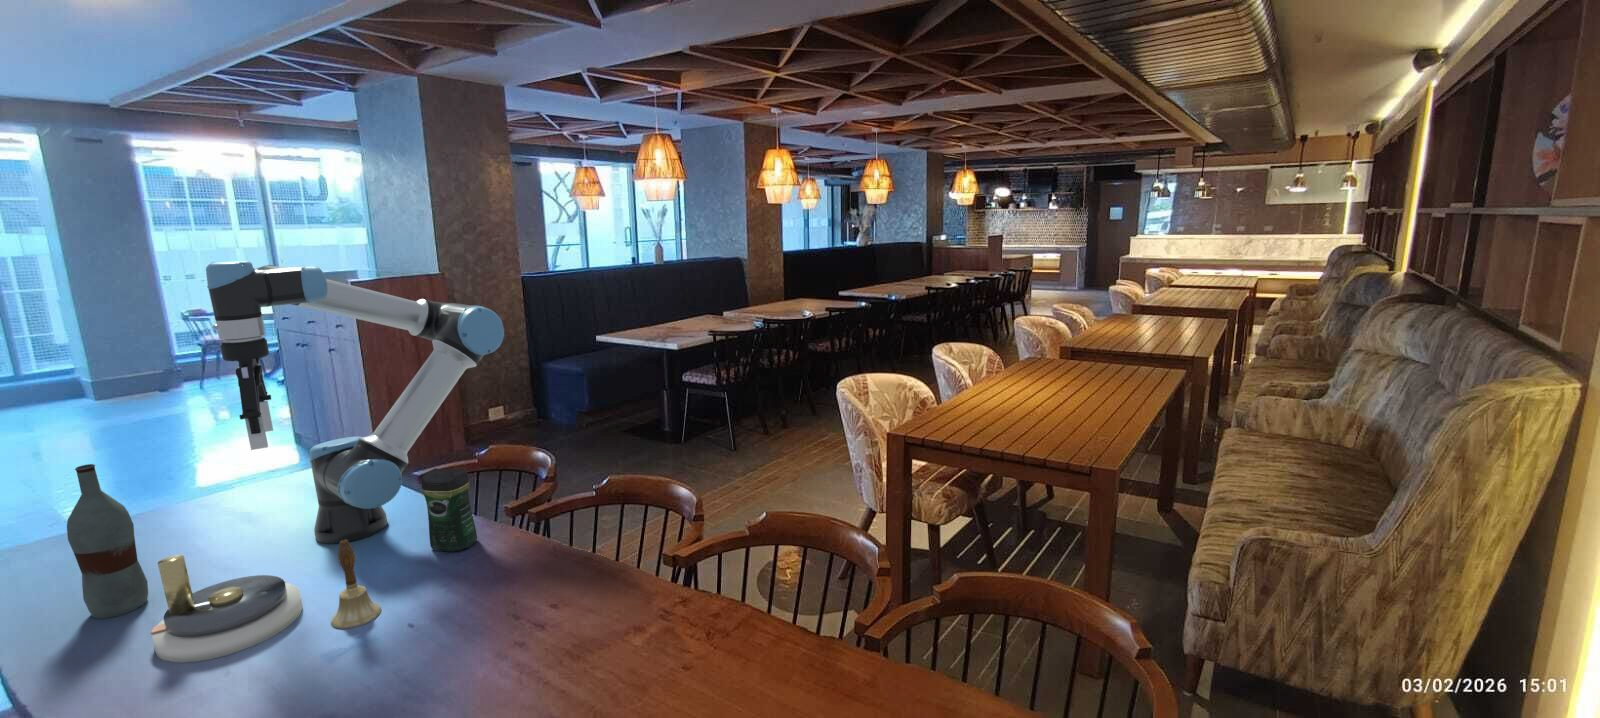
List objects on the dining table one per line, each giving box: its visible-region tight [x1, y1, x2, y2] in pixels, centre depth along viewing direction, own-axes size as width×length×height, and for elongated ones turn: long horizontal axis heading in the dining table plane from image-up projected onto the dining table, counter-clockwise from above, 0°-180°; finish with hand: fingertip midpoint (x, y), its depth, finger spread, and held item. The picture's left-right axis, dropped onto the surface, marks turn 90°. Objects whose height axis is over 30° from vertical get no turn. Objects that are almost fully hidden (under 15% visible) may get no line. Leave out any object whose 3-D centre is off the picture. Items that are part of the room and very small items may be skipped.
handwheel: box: [157, 554, 287, 637], centre depth 133 cm, size 18×18×12 cm
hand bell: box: [330, 539, 382, 630], centre depth 136 cm, size 8×8×16 cm
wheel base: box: [150, 582, 303, 664], centre depth 135 cm, size 22×22×4 cm
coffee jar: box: [421, 468, 478, 552], centre depth 164 cm, size 10×8×19 cm
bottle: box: [66, 463, 149, 620], centre depth 140 cm, size 9×9×30 cm
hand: (262, 439), depth 148 cm, fingers open, 13 cm apart
